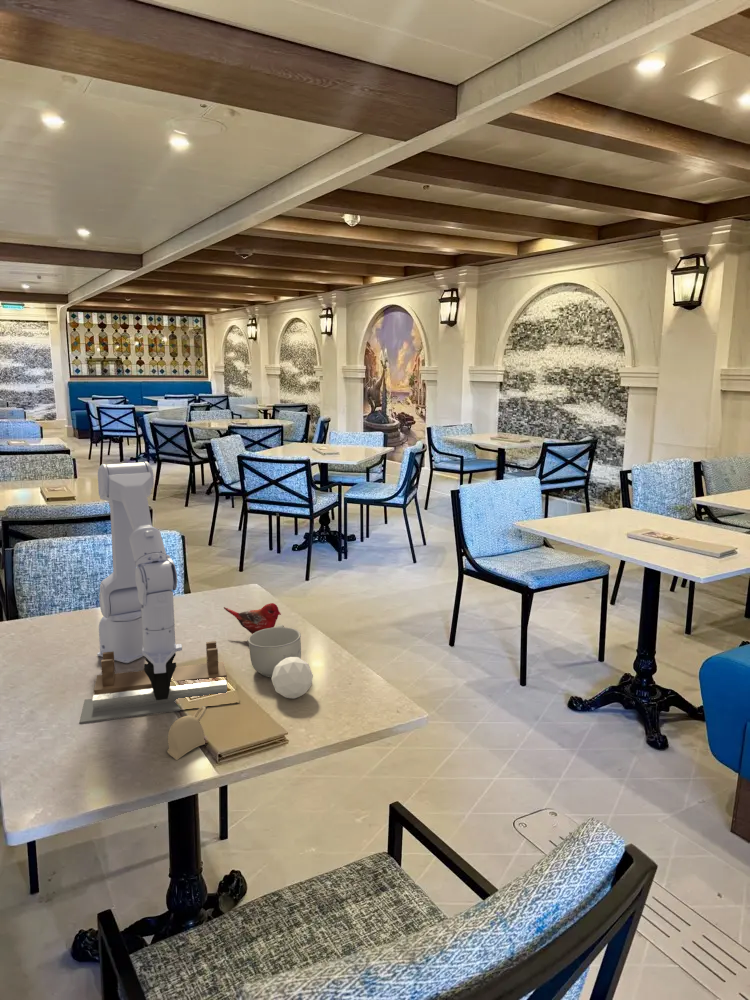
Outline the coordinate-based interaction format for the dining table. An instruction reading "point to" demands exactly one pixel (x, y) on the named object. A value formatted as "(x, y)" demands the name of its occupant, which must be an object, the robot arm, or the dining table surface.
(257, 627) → the decorative bird figurine
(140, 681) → the hook stands
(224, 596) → the dining table surface
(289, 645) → the teacup
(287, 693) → the geometric ball
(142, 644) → the robot arm
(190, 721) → the decorative ornament
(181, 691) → the steel bar
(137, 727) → the dining table surface
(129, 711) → the mat
